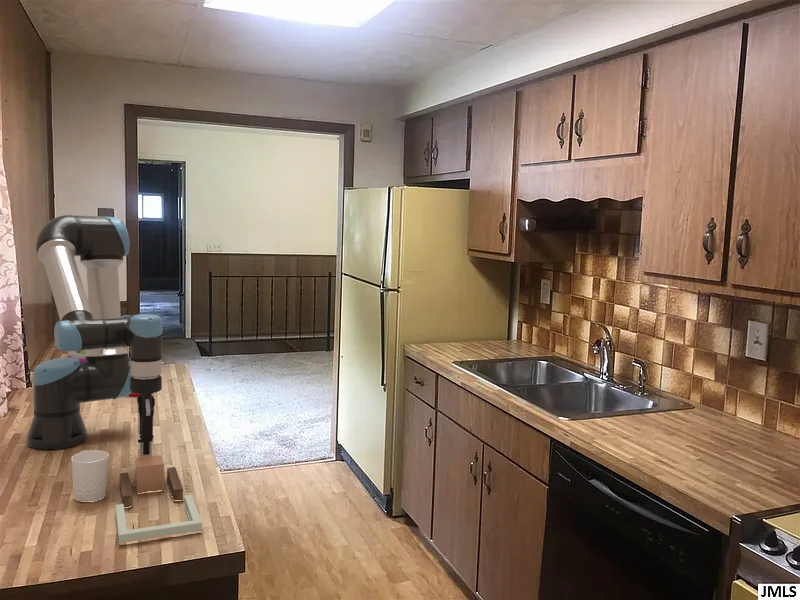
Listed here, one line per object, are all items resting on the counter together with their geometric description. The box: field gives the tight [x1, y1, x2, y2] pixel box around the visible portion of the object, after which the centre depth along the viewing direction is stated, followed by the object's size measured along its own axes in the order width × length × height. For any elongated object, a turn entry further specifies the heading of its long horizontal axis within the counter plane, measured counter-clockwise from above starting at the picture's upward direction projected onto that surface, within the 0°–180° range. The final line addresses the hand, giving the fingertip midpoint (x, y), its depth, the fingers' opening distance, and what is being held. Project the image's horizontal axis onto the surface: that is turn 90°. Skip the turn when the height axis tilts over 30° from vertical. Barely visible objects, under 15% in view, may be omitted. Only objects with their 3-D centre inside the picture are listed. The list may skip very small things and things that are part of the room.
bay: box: [115, 494, 203, 544], centre depth 142 cm, size 16×15×2 cm
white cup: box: [70, 449, 110, 502], centre depth 152 cm, size 8×8×10 cm
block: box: [134, 454, 165, 494], centre depth 159 cm, size 6×6×7 cm
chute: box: [119, 466, 184, 507], centre depth 157 cm, size 13×14×3 cm
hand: (145, 464), depth 169 cm, fingers closed
